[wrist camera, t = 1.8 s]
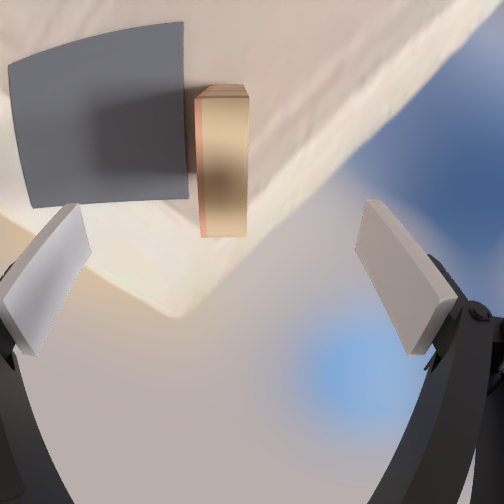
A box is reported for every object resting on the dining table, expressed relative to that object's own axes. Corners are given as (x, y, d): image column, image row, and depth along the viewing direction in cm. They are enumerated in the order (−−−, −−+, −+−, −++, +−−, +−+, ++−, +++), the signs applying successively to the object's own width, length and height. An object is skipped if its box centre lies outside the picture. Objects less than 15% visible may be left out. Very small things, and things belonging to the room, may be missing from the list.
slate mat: (11, 64, 20) (8, 64, 19) (183, 22, 21) (182, 21, 21) (34, 206, 30) (32, 208, 30) (188, 196, 31) (188, 198, 31)
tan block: (210, 85, 25) (194, 99, 15) (243, 84, 25) (249, 98, 15) (212, 173, 30) (201, 237, 20) (242, 173, 30) (246, 236, 20)
